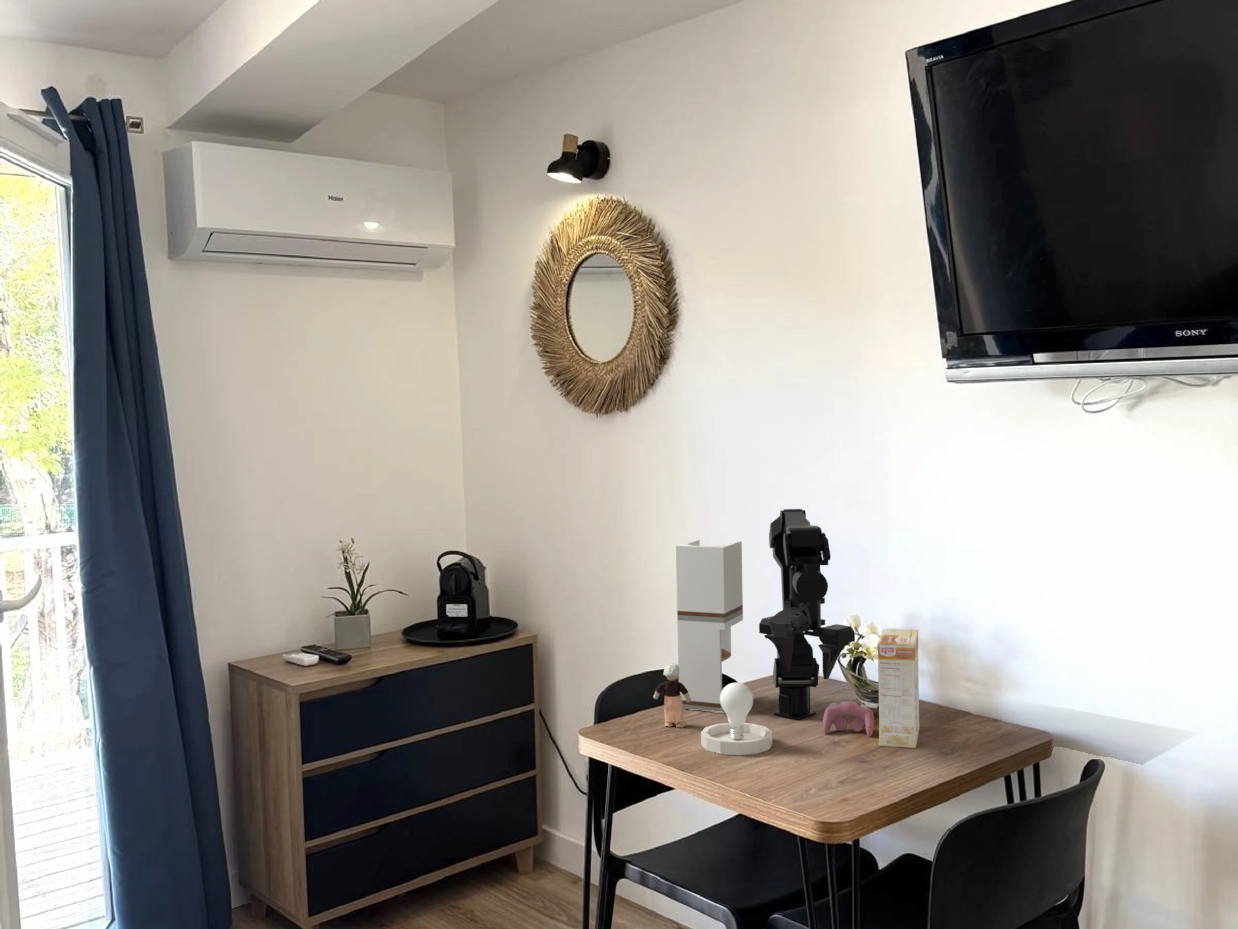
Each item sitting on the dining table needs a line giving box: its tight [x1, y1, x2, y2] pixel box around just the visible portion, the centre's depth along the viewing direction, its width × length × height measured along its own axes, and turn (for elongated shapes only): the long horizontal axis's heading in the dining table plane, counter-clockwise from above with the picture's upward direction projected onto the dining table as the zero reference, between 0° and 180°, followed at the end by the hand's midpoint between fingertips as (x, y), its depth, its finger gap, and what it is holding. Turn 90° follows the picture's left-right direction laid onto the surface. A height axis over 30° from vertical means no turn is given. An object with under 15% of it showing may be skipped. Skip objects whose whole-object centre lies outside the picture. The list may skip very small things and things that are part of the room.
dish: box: [700, 722, 773, 756], centre depth 214 cm, size 13×13×2 cm
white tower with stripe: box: [675, 539, 744, 712], centre depth 242 cm, size 11×11×35 cm
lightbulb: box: [720, 681, 754, 741], centre depth 214 cm, size 6×6×11 cm
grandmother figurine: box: [653, 662, 691, 728], centre depth 227 cm, size 8×4×13 cm, turn 84°
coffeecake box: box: [877, 627, 920, 749], centre depth 217 cm, size 15×7×20 cm, turn 162°
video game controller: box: [822, 700, 875, 738], centre depth 221 cm, size 10×5×7 cm, turn 73°
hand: (806, 675), depth 213 cm, fingers open, 9 cm apart
